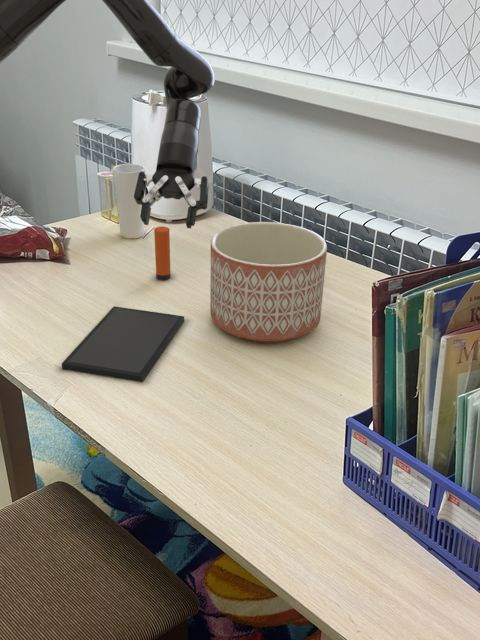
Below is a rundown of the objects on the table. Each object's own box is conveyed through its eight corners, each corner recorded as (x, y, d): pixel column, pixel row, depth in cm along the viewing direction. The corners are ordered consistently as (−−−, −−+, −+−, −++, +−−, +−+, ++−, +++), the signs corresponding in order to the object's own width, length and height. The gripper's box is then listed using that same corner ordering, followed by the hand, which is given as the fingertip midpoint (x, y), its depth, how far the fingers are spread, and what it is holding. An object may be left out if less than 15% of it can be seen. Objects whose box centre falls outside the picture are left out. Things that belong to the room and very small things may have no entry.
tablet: (62, 369, 106) (61, 363, 105) (114, 311, 122) (113, 305, 122) (142, 382, 103) (142, 376, 103) (184, 321, 120) (184, 316, 120)
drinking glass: (126, 227, 157) (122, 162, 150) (153, 232, 156) (150, 166, 148) (111, 237, 152) (106, 169, 144) (138, 242, 150) (135, 174, 142)
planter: (194, 306, 125) (193, 229, 118) (289, 290, 132) (293, 216, 125) (236, 358, 110) (238, 273, 103) (339, 336, 118) (349, 256, 110)
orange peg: (154, 279, 134) (152, 230, 129) (159, 273, 137) (157, 225, 132) (167, 281, 134) (166, 232, 129) (172, 275, 136) (171, 227, 131)
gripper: (139, 138, 135) (126, 213, 131) (211, 143, 134) (200, 219, 130) (147, 158, 143) (135, 230, 139) (215, 162, 141) (205, 236, 137)
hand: (167, 225), depth 134 cm, fingers open, 8 cm apart
